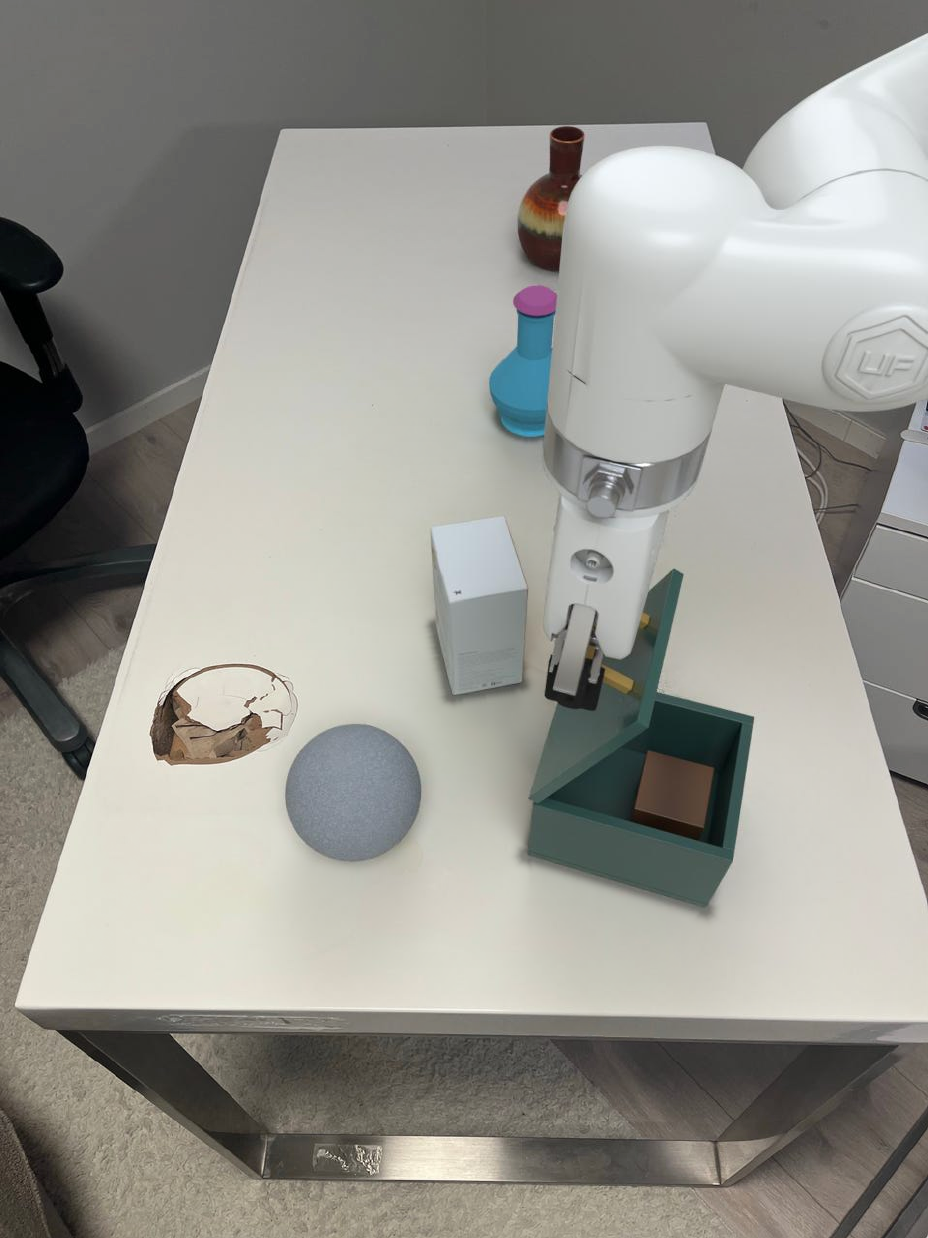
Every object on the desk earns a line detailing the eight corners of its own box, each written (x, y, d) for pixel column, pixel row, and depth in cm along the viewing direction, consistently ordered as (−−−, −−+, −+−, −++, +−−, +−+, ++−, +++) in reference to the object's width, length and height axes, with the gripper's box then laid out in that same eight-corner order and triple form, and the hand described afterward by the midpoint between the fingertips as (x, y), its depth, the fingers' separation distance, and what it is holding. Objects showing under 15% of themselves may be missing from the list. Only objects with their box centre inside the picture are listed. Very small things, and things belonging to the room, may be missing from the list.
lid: (684, 573, 56) (618, 537, 56) (649, 727, 50) (573, 689, 49) (578, 669, 68) (522, 640, 67) (537, 804, 61) (476, 773, 61)
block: (701, 797, 70) (714, 767, 66) (691, 855, 68) (704, 828, 64) (638, 780, 71) (647, 749, 67) (625, 837, 69) (634, 808, 65)
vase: (498, 253, 119) (500, 132, 106) (558, 223, 123) (567, 103, 111) (558, 289, 114) (567, 166, 101) (618, 256, 118) (634, 134, 106)
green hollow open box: (728, 772, 73) (754, 716, 66) (706, 908, 66) (732, 862, 59) (564, 728, 75) (573, 670, 68) (527, 855, 69) (532, 804, 62)
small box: (523, 684, 78) (530, 589, 68) (452, 697, 77) (447, 603, 67) (502, 611, 83) (505, 513, 72) (434, 623, 82) (427, 525, 72)
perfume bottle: (568, 388, 102) (580, 267, 90) (576, 444, 96) (589, 322, 84) (487, 390, 102) (488, 269, 90) (490, 446, 96) (491, 325, 84)
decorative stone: (447, 841, 69) (443, 782, 61) (330, 906, 67) (309, 853, 59) (388, 743, 75) (377, 677, 67) (277, 799, 72) (251, 737, 64)
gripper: (671, 595, 36) (613, 793, 51) (730, 346, 46) (667, 571, 61) (494, 552, 38) (486, 757, 52) (588, 319, 48) (560, 545, 62)
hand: (584, 655), depth 56 cm, fingers closed on lid, 6 cm apart
